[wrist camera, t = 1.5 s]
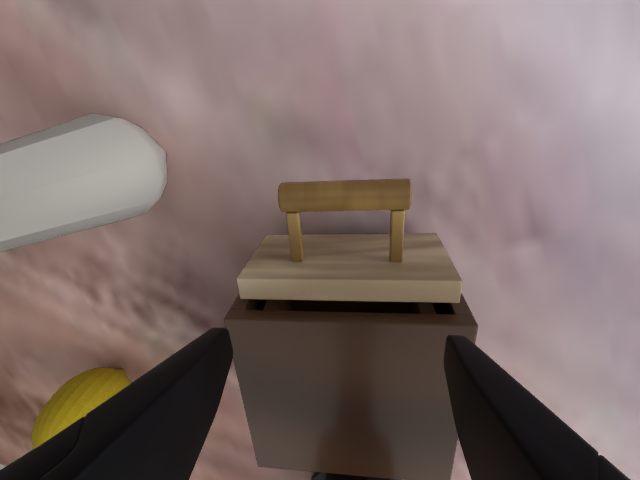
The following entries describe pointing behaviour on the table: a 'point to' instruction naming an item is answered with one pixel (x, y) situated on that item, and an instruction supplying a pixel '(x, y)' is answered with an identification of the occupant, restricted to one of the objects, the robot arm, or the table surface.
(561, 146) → the table surface
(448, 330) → the cabinet
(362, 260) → the drawer
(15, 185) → the white bowling pin
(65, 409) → the lemon
